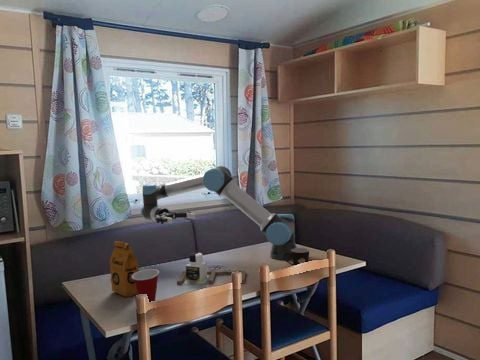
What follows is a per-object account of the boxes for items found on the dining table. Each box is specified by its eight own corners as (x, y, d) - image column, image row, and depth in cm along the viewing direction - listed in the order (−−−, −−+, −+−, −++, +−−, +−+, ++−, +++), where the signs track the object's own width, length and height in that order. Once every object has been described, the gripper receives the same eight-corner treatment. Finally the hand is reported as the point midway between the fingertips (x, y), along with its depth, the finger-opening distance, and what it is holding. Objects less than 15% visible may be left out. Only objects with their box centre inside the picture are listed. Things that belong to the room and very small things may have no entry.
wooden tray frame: (245, 273, 198) (245, 270, 198) (244, 283, 184) (244, 280, 184) (183, 274, 200) (183, 271, 200) (177, 284, 186) (176, 281, 185)
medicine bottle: (186, 280, 190) (184, 254, 189) (194, 275, 197) (192, 250, 196) (199, 282, 187) (198, 256, 186) (207, 277, 194) (206, 251, 193)
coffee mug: (311, 268, 201) (311, 248, 200) (307, 274, 193) (306, 253, 192) (288, 266, 206) (288, 246, 205) (283, 271, 198) (282, 251, 197)
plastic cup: (127, 303, 166) (125, 273, 165) (150, 295, 174) (148, 267, 173) (143, 309, 159) (141, 279, 157) (166, 301, 166) (164, 272, 165)
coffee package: (122, 299, 170) (119, 247, 168) (109, 292, 179) (105, 242, 177) (144, 293, 177) (141, 242, 175) (129, 286, 186) (126, 238, 184)
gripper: (180, 218, 228) (204, 222, 213) (139, 225, 212) (162, 230, 196) (179, 204, 228) (203, 207, 212) (138, 211, 211) (160, 215, 195)
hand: (183, 218), depth 204 cm, fingers open, 13 cm apart
